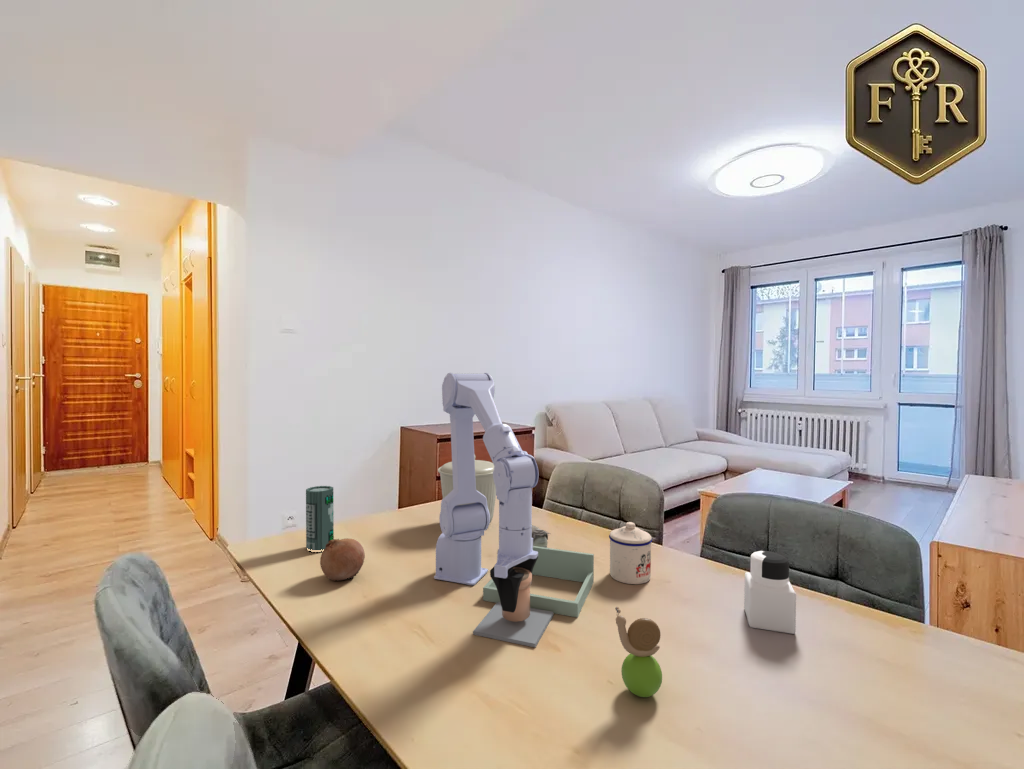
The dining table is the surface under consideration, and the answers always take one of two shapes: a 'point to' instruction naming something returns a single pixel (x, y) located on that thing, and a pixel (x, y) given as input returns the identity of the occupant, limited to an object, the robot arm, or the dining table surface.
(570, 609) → the frame
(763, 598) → the medicine bottle
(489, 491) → the canister
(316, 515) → the can
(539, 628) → the slate mat
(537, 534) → the decorative bird
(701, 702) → the dining table surface
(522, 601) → the terracotta pot
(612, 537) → the teacup with lid
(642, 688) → the snail figurine
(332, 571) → the brown kiwi fruit
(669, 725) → the dining table surface
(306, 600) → the dining table surface
